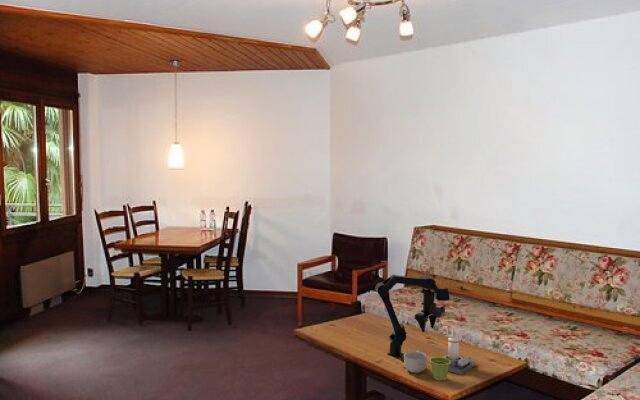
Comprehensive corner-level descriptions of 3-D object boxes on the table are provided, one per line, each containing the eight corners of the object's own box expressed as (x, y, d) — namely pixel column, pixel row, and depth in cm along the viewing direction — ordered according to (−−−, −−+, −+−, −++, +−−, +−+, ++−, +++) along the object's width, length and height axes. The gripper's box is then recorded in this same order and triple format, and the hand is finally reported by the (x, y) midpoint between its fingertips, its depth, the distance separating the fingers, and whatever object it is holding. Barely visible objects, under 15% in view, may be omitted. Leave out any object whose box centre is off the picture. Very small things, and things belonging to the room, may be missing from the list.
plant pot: (452, 377, 256) (453, 359, 255) (445, 384, 248) (446, 365, 248) (433, 373, 261) (434, 355, 260) (426, 379, 253) (427, 361, 253)
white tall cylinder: (452, 364, 267) (453, 340, 266) (445, 361, 272) (446, 337, 271) (460, 362, 270) (461, 339, 269) (453, 359, 274) (454, 336, 274)
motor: (460, 374, 260) (460, 364, 259) (436, 367, 268) (436, 357, 268) (475, 365, 272) (475, 355, 271) (451, 359, 280) (451, 349, 280)
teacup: (421, 376, 256) (421, 360, 256) (399, 371, 262) (400, 355, 262) (431, 367, 268) (432, 351, 268) (411, 363, 274) (411, 347, 273)
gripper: (433, 307, 273) (432, 337, 274) (451, 300, 287) (450, 329, 288) (414, 303, 280) (413, 332, 281) (432, 296, 294) (431, 325, 295)
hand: (427, 330), depth 286 cm, fingers open, 9 cm apart
